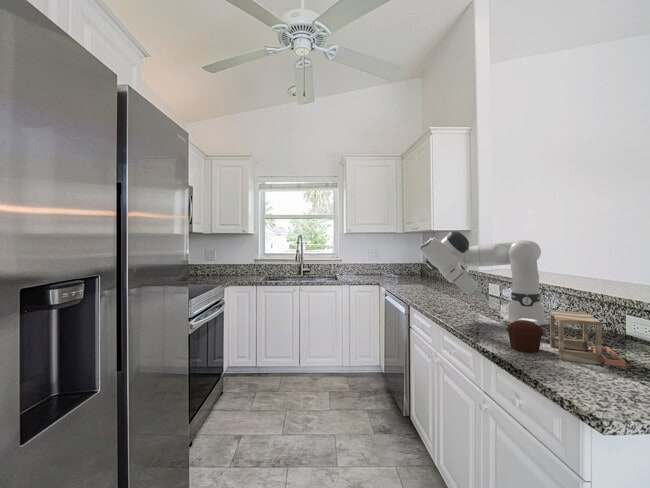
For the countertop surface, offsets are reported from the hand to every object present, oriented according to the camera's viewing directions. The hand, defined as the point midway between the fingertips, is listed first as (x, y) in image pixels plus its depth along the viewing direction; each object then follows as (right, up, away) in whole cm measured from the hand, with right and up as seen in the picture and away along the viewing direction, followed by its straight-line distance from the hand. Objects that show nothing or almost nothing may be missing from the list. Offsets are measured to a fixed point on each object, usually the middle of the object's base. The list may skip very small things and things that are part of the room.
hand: (483, 299), depth 129 cm
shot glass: (+23, -17, +11) cm, 30 cm away
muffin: (+12, -17, -5) cm, 22 cm away
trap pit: (+34, -17, -15) cm, 40 cm away
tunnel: (+25, -17, -11) cm, 32 cm away
